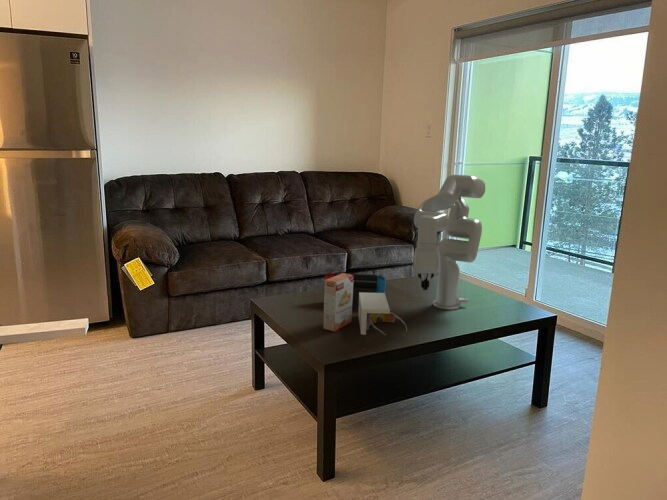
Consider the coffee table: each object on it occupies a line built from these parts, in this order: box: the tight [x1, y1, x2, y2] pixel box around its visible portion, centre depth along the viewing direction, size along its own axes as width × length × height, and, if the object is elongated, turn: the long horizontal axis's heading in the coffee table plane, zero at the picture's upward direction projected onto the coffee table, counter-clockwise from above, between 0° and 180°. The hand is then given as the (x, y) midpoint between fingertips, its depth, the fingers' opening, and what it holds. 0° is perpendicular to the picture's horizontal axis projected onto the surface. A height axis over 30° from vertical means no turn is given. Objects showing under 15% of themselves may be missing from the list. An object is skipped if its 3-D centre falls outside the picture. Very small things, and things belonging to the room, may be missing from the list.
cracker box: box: [322, 272, 354, 332], centre depth 215 cm, size 14×6×21 cm, turn 148°
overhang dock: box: [357, 292, 391, 336], centre depth 219 cm, size 11×22×10 cm, turn 0°
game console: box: [324, 271, 387, 308], centre depth 244 cm, size 28×6×15 cm, turn 83°
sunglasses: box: [368, 312, 408, 336], centre depth 217 cm, size 14×15×5 cm
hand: (424, 288), depth 217 cm, fingers closed
